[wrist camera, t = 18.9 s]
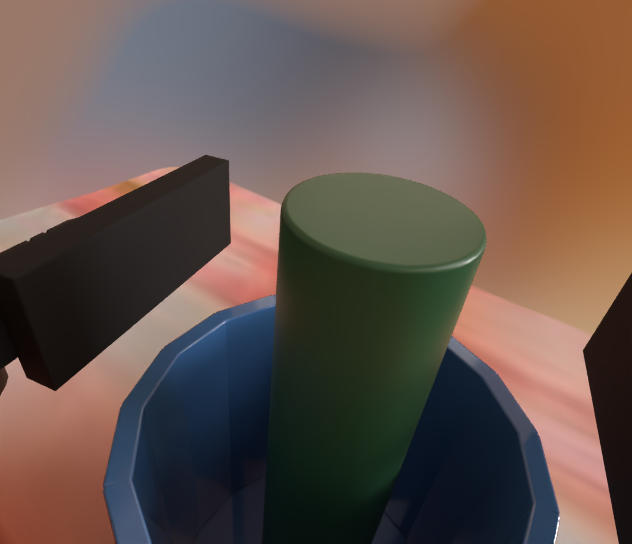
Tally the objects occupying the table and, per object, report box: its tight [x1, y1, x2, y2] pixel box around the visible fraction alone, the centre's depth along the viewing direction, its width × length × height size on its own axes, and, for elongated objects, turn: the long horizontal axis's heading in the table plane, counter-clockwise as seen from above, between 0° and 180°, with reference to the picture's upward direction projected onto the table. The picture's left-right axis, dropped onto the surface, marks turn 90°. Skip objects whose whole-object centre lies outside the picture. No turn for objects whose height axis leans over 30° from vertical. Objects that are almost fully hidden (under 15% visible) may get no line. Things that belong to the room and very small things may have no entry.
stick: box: [262, 173, 486, 544], centre depth 10 cm, size 3×3×14 cm
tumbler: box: [103, 295, 560, 544], centre depth 12 cm, size 9×9×10 cm
